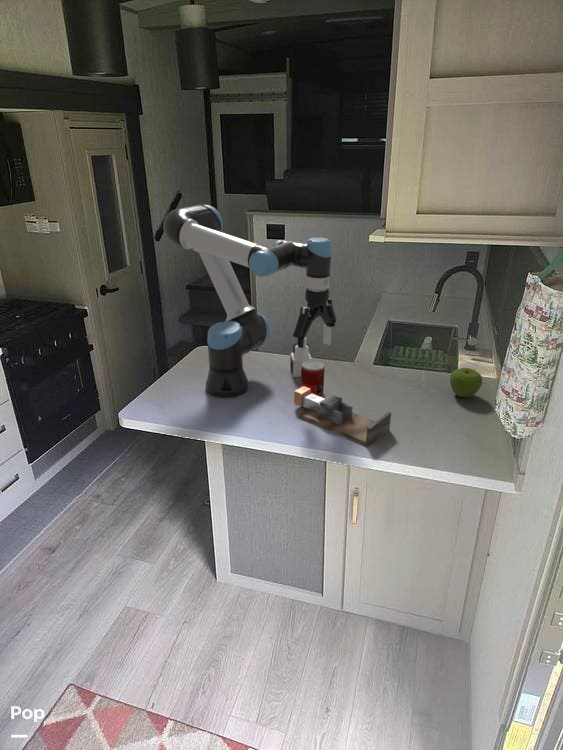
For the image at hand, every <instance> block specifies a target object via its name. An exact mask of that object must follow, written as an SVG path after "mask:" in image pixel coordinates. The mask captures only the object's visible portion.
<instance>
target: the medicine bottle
mask: <svg viewBox="0 0 563 750" xmlns="http://www.w3.org/2000/svg"><path fill="white" fill-rule="evenodd" d="M310 346H311V345H310V344H309V343H308V342H306V357H302V356H299V355H298V341H297V342H294V344H292V352H291V353H290V361H289V362H290V372H291V375H292V378H301V365H302V363H303V362H304V361H308V360H313V358H312V356H311V354H310Z"/></svg>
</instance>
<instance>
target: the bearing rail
mask: <svg viewBox="0 0 563 750" xmlns="http://www.w3.org/2000/svg"><path fill="white" fill-rule="evenodd" d="M338 404H340V405H339V411H337V410H334V409H332V408H333V407H335V406H336V405H338ZM298 415H299V416H298V417H299V419H303V420H305V421H308V422H310V423H312V424H314V425H317V426H320V427H321V428H324V429H325V430H328V431H331V432H333V433H335V434H337V435H340V436H343V437H344V438H348V439H350V440H352V441H354V442H357V443H359V444H362V445H363V446H366V447H370V446H371V445H373V444H374V443H375V442H377V441H378V440H379V439H380V438H381V437H383V436H384V435H385V434H387V433H388V432H389V431H390V425H391V420H392V419H391V418H392V412H391V411H387V412H386V413H385V414H383V415H382V416H380V417H379V418H378V419H377V420H374V419H370V418H367V417H365V416H362V415H361V414H358V413H355V412H353V405H350V404H347V403H345V402H343V398H342V397H339V396H336V395H334V394H330V395H329V396H327V397H325V399H324V400H322V401H321V402H320V404H318V405H317V412H315V411H313V410H310V409H308V408H306V409H304V410H303V411H301V412H300V413H298Z"/></svg>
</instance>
